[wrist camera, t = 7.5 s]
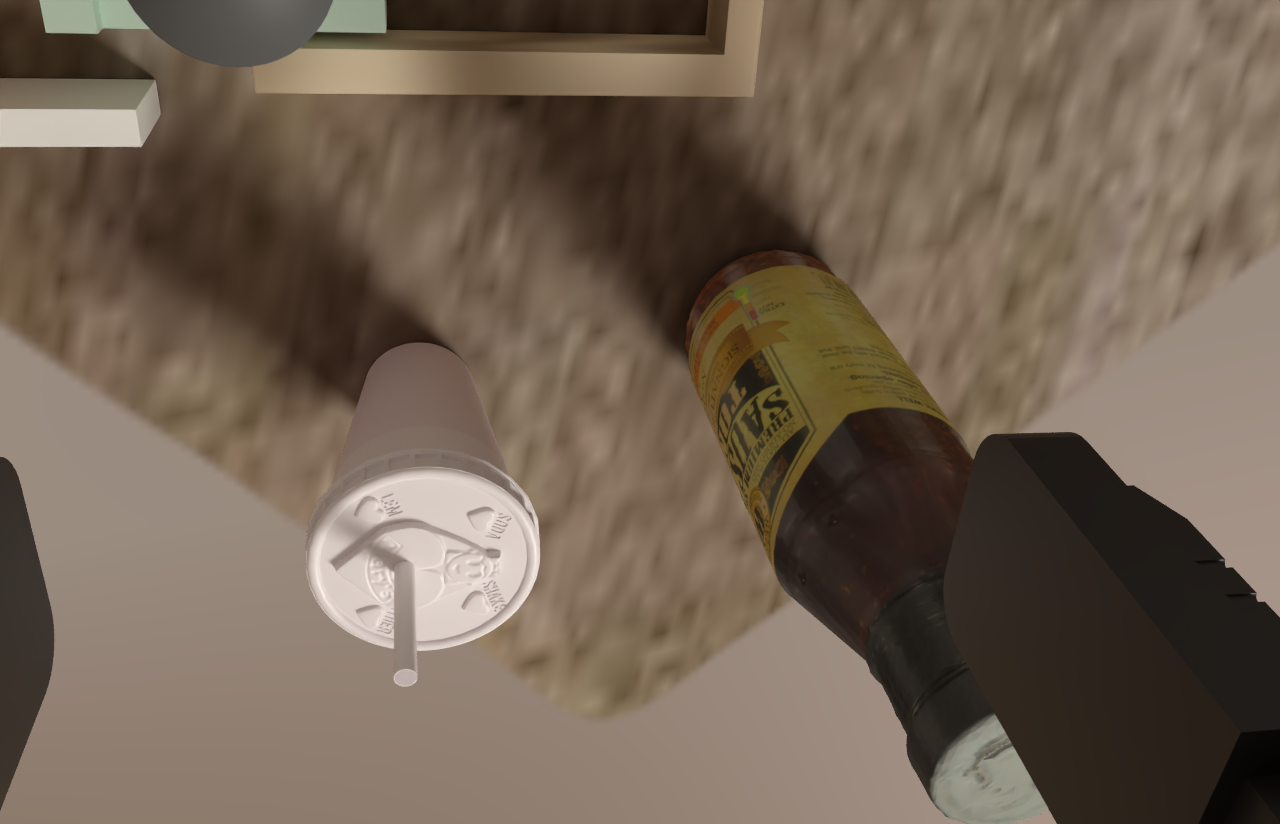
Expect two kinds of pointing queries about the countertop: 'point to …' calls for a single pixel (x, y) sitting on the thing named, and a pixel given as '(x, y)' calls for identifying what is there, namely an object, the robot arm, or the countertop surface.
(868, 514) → the sauce bottle
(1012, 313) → the countertop surface
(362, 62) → the wooden rectangular frame
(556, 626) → the countertop surface
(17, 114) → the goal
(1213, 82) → the countertop surface
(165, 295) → the countertop surface
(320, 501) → the smoothie
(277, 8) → the striker
